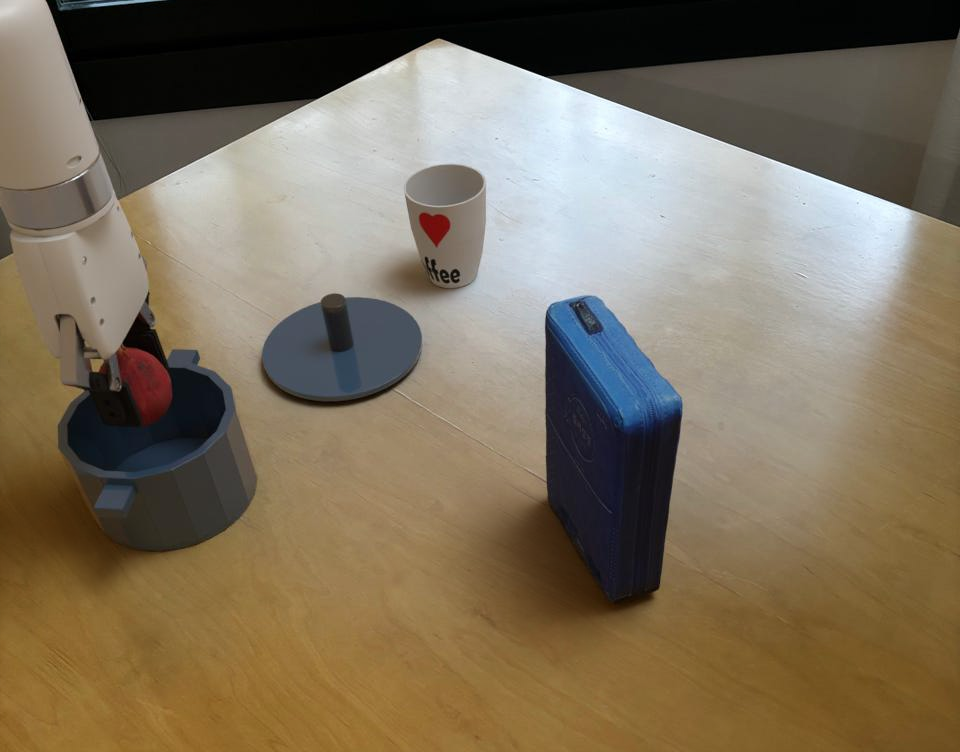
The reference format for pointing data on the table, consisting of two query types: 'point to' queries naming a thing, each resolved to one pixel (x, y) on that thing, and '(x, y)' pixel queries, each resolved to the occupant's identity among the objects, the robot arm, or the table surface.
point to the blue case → (608, 446)
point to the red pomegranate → (145, 382)
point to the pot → (164, 463)
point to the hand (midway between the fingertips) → (137, 395)
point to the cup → (448, 221)
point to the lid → (342, 348)
